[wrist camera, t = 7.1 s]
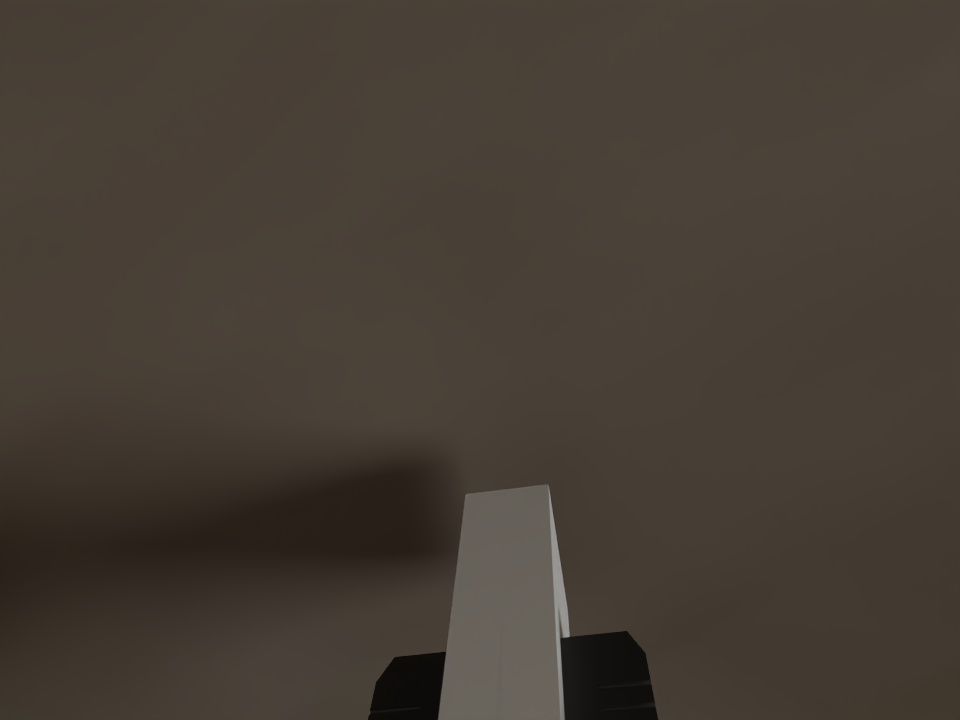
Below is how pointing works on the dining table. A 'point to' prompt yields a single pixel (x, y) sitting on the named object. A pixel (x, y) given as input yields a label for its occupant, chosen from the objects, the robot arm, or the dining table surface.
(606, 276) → the dining table surface
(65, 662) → the dining table surface
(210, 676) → the dining table surface
